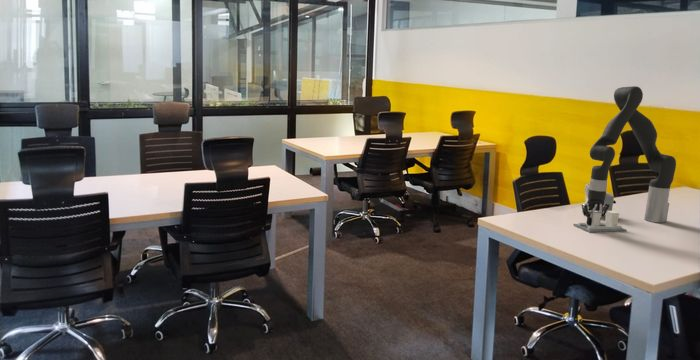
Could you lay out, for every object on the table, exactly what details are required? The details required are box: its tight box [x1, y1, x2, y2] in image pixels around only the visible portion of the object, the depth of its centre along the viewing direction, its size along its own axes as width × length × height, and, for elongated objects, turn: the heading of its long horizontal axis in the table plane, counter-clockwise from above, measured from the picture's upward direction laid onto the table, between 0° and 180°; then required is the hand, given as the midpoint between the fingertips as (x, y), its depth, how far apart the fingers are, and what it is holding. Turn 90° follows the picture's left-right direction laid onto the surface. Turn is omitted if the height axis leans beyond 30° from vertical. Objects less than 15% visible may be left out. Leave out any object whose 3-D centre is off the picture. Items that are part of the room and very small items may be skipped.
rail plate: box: [573, 210, 628, 234], centre depth 284 cm, size 20×12×8 cm, turn 106°
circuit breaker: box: [581, 183, 617, 214], centre depth 308 cm, size 8×14×15 cm, turn 78°
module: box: [587, 211, 601, 227], centre depth 283 cm, size 4×5×7 cm
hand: (592, 224), depth 283 cm, fingers closed on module, 3 cm apart
